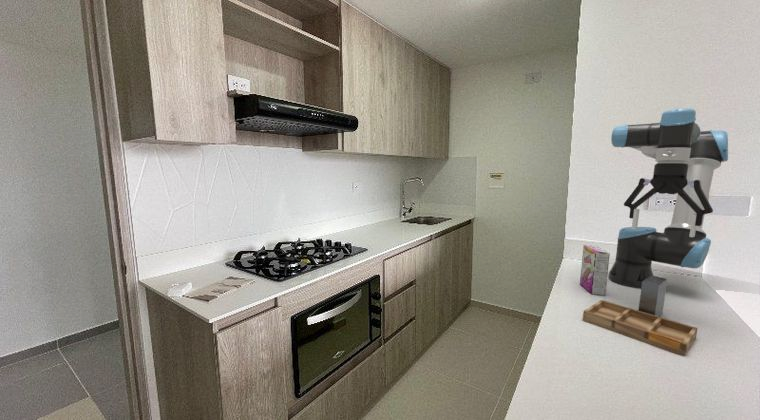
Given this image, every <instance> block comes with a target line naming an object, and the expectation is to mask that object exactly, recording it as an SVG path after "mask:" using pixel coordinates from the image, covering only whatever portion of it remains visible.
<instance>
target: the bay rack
mask: <svg viewBox="0 0 760 420" xmlns="http://www.w3.org/2000/svg"><path fill="white" fill-rule="evenodd" d="M638 310H639V309H638ZM638 310H637V309H634V308H630V307H627V306H624V305H620V304H618V303H615V302H610V301H607V300H604V299H601V300H599V301H597V302H596V303H594V304H593V305H591V306H589V307H588V308H586V309H585V310H583V313H582V314H583V315H582V321H583V322H586V323H589V324H591V325H595V326H597V327H600V328H603V329H606V330H609V331H612V332H613V333H614V332H615V333H617V334H619V335H623V336H626V337H629V338H632V339H634V340H638V341H640V342H644V343H646V344H648V345H651V346H655V347H657V348H660V349H663V350H665V351H668V352H671V353H674V354H678V355H680V356H683V357H685V356H686V355H687V353H688V351H689V350H690V348H691V347H692V345H693V343H694V342H695V341H696V338H697V333H698V327H695V326H692V325H689V324H687V323H686V324H684V323H682V322H678V321H675V320H671V319H668V318H664V317H662V316H660V317H658V316H655V315H651V314H648V313H645V312H641V311H638Z"/></svg>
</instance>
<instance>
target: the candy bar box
mask: <svg viewBox="0 0 760 420" xmlns="http://www.w3.org/2000/svg"><path fill="white" fill-rule="evenodd" d="M610 255H611V253H610V252H609V251H607V250H605V249H602V248H601V247H599V246H598V245H590V244H589V245H588V244H583V247H582V256H581V257H582V258H581V266H580V267H581V268H580V277H579V279H580V280H579V284H580V285H581V286H582V287H583V288H584V289H585V290H586V291H587V292H589V294H590V295H595V296H606V290H607V282H608V275H609V272H608V271H609V263H610Z"/></svg>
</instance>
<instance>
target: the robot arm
mask: <svg viewBox="0 0 760 420" xmlns="http://www.w3.org/2000/svg"><path fill="white" fill-rule="evenodd" d="M696 113H697V111H696V110H695V109H694V108H675V109H669V110H666V111H663V112H662V113H661V117H660V121H659V122H653V123H639V124H625V125H624V124H623V125H617V126H615V127H614V128H613V130H612V132H611V137H610V139H611V144H612V147H614V148H631V149H634V150H637V151H640V152H641V153H642V155H644V156H646V157H648V158H651V159H655V162H657V163H655V164H654V166H653V167H654V168H653V175H652V176H653V177H652V178H651V179H649V178H644V177H641V178H640V179H639V181H638V184H637V186H636V187H635V188H634V189H633V191H632V192H631V194H630V195H629V196H628V197H627V199H626V200H625V201H624V202H623V206H624V207H627V208H629V216H628V217H629V219H632V224H631V226H627V227H622V228H621V229H619V231H618V236H617V243H616V254H615V261H614V263H613V265H612V267H611V268H610V270H609V272H608V275H607V279H609V280H610V281H611V282H613V283H615V284H618V285H622V286H627V287H631V288H638V289H641V287H642V281H644V280H645V279H647V278H648V277H650V276H651V275H652V276H654V273H653V270H652V262H656V263H660V264H666V265H671V266H678V267H680V268H688V269H699V268H700V267H701V266H703V264H704V262H705V261H706V259H707V256H708V254H709V251H710V247H711V243H712V240H711V239H710V238H708V237H707V233H706V232H705V231H704V230H703V225H704V224H703V223H704V219H705V215H707V214H712V213H713V212H714V210H713V208H712V205H711V204H710V202H709V196H710V192H711V191H710V190H711V186H712V180H713V175H714V171H715V170H717V169H719V168H720V167H721V165H722V163H724V162H728V161H729V159H728V158H729V140H728V139H729V137H728V132H727V131H725V130H704V131H703V130H701V128H700V126H699V124H697V123H696V120H697V118H696V117H697V115H696ZM649 184H650V185H651V186H652V188H651V189H650V190H648V192H646V193H645V194H643V195H642V196H641V197H640V198H639V199H638V200H636V201H635V199H636V198H637V197H638V196H639V195H640V193H641V192H642V191H643V189H644V188H645V187H646V186H648V185H649ZM657 193H658V194H661V195H664V194H668V195H677V196H676V200H675V204H674V209H673V213H672V219H671V223H670V225H668V226H666V227H664V230H663V232H658V231H657V228H655V227H652V226H651V227H650V226H638V224H639V218H640V217H639V216H640V208H638V207H640V206H641V205H642V204H644V203H645V202H646V201H647V200H649V199H650V198H652V197H653V196H654V195H656V194H657ZM634 201H635V202H634Z"/></svg>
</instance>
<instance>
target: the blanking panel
mask: <svg viewBox="0 0 760 420" xmlns="http://www.w3.org/2000/svg"><path fill="white" fill-rule="evenodd" d="M667 283H668V278H665V277H660V276H656V275H653V276H652V275H651V276H650V277H648V278H647V279H645V280H644V281H642V287H641V288H640V296H639V303H638V311H641V312H645V313H648V314H651V315H655V316H658V317H662V315H663V313H664V306H665V299H666V298H665V297H666V291H667V285H668V284H667Z"/></svg>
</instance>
